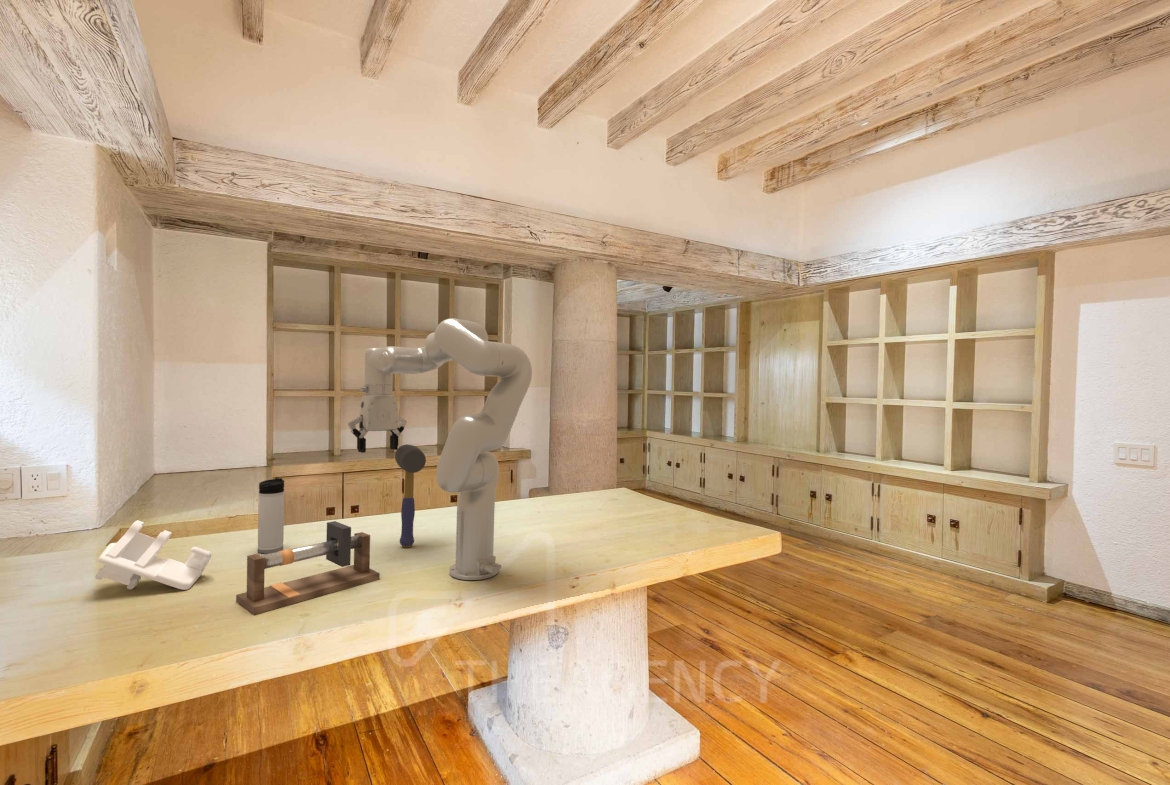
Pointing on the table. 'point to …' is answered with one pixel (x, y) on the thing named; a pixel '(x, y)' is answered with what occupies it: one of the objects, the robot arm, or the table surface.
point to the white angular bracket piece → (149, 561)
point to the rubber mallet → (409, 488)
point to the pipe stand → (306, 587)
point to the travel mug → (271, 516)
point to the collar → (340, 543)
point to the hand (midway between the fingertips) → (378, 450)
